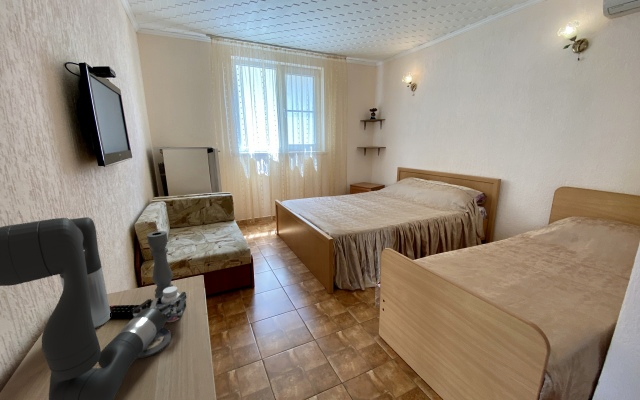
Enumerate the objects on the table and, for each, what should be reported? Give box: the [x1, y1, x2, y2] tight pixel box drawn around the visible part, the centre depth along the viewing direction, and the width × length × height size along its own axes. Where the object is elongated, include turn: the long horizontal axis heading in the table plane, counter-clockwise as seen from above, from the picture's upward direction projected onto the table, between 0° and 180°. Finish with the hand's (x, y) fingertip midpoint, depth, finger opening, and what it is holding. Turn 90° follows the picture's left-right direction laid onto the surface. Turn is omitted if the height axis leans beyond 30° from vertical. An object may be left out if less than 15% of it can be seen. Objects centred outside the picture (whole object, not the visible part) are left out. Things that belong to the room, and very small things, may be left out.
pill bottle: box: [161, 285, 181, 323], centre depth 82 cm, size 6×5×10 cm
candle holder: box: [146, 230, 174, 299], centre depth 89 cm, size 6×6×25 cm
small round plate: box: [136, 327, 172, 359], centre depth 72 cm, size 10×10×1 cm
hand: (175, 294), depth 84 cm, fingers closed on pill bottle, 5 cm apart
